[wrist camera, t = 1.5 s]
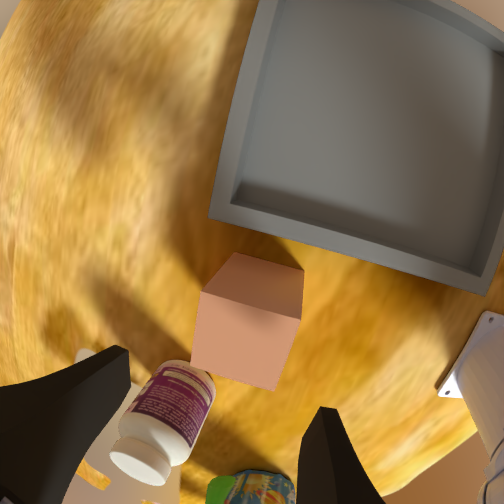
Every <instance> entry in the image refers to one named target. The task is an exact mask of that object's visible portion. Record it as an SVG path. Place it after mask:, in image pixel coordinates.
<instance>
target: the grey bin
mask: <svg viewBox="0 0 504 504" xmlns="http://www.w3.org/2000/svg"><path fill="white" fill-rule="evenodd" d="M208 218H210V219H213V220H217V221H221V222H225V223H229V224H233V225H237V226H241V227H245V228H248V229H252V230H256V231H260V232H264V233H267V234H271V235H275V236H279V237H282V238H286V239H290V240H293V241H297V242H301V243H304V244H308V245H312V246H315V247H319V248H323V249H326V250H330V251H333V252H337V253H340V254H344V255H348V256H351V257H355V258H358V259H362V260H365V261H369V262H372V263H376V264H379V265H382V266H386V267H389V268H393V269H396V270H399V271H403V272H406V273H410V274H413V275H416V276H420V277H423V278H426V279H430V280H433V281H436V282H439V283H443V284H446V285H449V286H452V287H456V288H459V289H462V290H465V291H468V292H472V293H475V294H478V295H481V296H484V297H485V296H486V293H487V291H488V289H489V286H490V284H491V281H492V279H493V276H494V274H495V271H496V269H497V266H498V263H499V260H500V258H501V255H502V252H503V249H504V32H502V31H501V30H500V29H498V28H496V27H495V26H494V25H492V24H491V23H489V22H487V21H486V20H484V19H483V18H481V17H479V16H478V15H476V14H474V13H473V12H471V11H469V10H467V9H466V8H464V7H462V6H460V5H458V4H456V3H454V2H452V1H450V0H259V3H258V6H257V10H256V13H255V17H254V20H253V23H252V27H251V30H250V34H249V38H248V41H247V45H246V48H245V52H244V56H243V60H242V64H241V67H240V71H239V75H238V79H237V83H236V87H235V91H234V95H233V99H232V104H231V108H230V112H229V116H228V121H227V125H226V129H225V134H224V138H223V143H222V148H221V152H220V157H219V162H218V166H217V171H216V176H215V181H214V186H213V191H212V196H211V202H210V207H209V212H208Z"/></svg>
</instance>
